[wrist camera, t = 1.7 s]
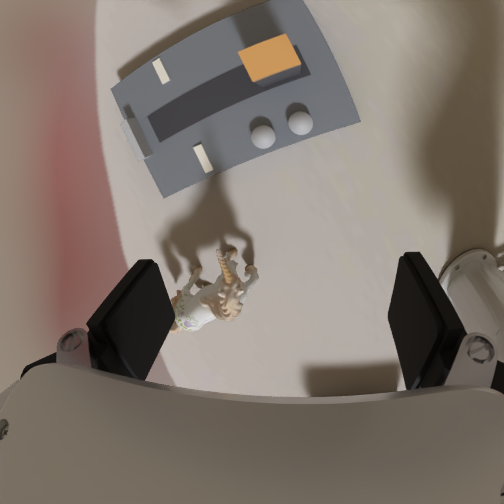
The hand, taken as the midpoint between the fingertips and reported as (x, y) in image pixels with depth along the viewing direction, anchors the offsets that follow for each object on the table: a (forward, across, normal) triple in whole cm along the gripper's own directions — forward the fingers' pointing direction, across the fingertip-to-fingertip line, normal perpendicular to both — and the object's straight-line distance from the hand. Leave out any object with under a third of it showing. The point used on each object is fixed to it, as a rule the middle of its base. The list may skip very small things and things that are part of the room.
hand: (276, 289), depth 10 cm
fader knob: (+20, 0, -11) cm, 23 cm away
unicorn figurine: (+24, +11, +12) cm, 29 cm away
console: (+24, +6, -9) cm, 26 cm away
